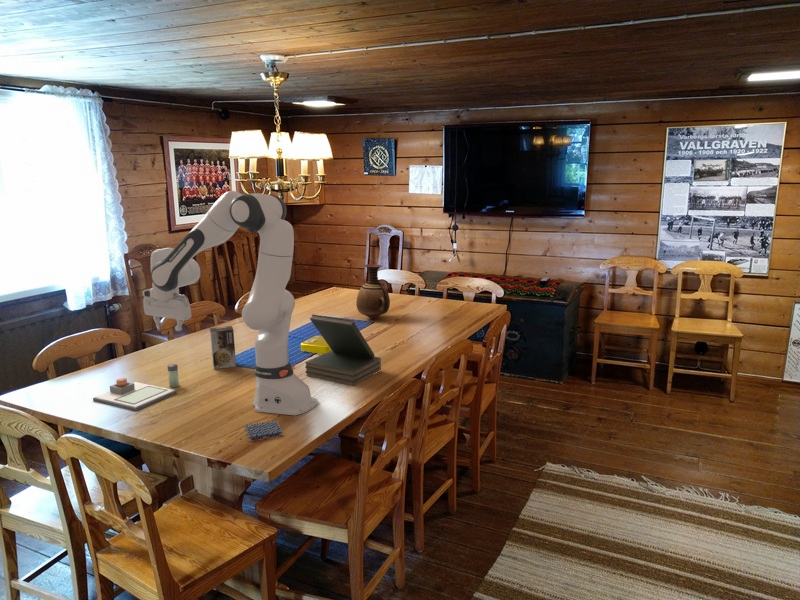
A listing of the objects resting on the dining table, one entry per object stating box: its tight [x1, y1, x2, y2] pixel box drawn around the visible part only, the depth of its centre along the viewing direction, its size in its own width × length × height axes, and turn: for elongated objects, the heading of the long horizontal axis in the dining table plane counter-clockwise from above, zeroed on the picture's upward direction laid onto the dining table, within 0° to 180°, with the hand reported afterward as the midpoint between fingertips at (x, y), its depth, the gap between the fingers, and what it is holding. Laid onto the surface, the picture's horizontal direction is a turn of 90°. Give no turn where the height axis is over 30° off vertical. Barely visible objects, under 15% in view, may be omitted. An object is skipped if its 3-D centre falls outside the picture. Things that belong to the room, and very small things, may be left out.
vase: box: [356, 263, 391, 319], centre depth 313 cm, size 21×18×30 cm
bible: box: [304, 314, 382, 387], centre depth 227 cm, size 23×20×25 cm
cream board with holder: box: [92, 381, 178, 412], centre depth 205 cm, size 21×18×4 cm
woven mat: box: [244, 419, 284, 442], centre depth 177 cm, size 10×11×2 cm
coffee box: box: [209, 325, 237, 370], centre depth 237 cm, size 9×6×16 cm
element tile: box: [300, 335, 332, 355], centre depth 261 cm, size 15×15×5 cm
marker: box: [167, 363, 180, 388], centre depth 215 cm, size 4×4×8 cm
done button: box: [115, 377, 128, 387], centre depth 207 cm, size 3×3×2 cm
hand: (169, 329), depth 212 cm, fingers open, 8 cm apart
